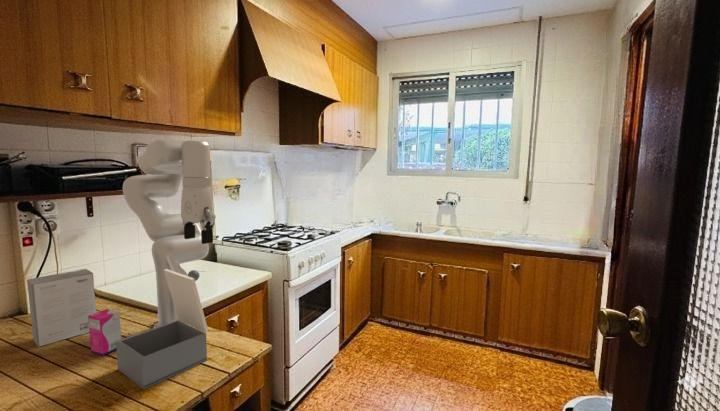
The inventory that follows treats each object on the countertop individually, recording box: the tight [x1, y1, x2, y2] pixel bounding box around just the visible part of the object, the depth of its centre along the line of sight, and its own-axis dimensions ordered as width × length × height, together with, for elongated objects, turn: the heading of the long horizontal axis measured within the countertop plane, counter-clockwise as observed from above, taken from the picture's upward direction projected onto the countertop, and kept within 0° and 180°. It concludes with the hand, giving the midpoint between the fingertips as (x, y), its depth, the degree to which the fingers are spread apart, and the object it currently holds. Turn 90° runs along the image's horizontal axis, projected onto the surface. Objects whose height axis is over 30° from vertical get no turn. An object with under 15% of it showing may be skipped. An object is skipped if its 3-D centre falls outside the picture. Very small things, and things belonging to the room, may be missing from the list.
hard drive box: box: [26, 268, 97, 348], centre depth 117 cm, size 16×8×20 cm, turn 141°
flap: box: [164, 269, 209, 334], centre depth 107 cm, size 15×17×6 cm
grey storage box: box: [116, 320, 208, 390], centre depth 100 cm, size 15×17×8 cm
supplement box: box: [88, 308, 122, 357], centre depth 108 cm, size 6×6×12 cm
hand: (198, 240), depth 108 cm, fingers open, 9 cm apart
